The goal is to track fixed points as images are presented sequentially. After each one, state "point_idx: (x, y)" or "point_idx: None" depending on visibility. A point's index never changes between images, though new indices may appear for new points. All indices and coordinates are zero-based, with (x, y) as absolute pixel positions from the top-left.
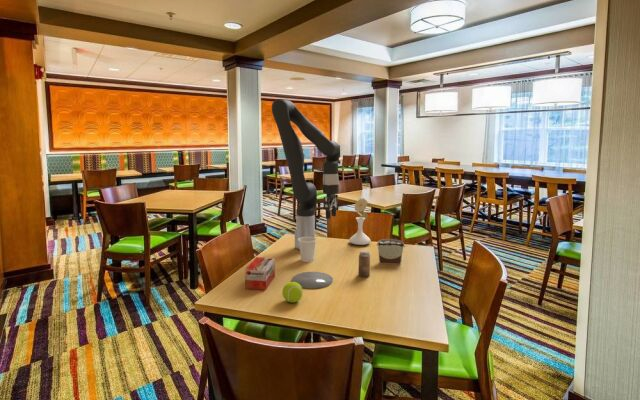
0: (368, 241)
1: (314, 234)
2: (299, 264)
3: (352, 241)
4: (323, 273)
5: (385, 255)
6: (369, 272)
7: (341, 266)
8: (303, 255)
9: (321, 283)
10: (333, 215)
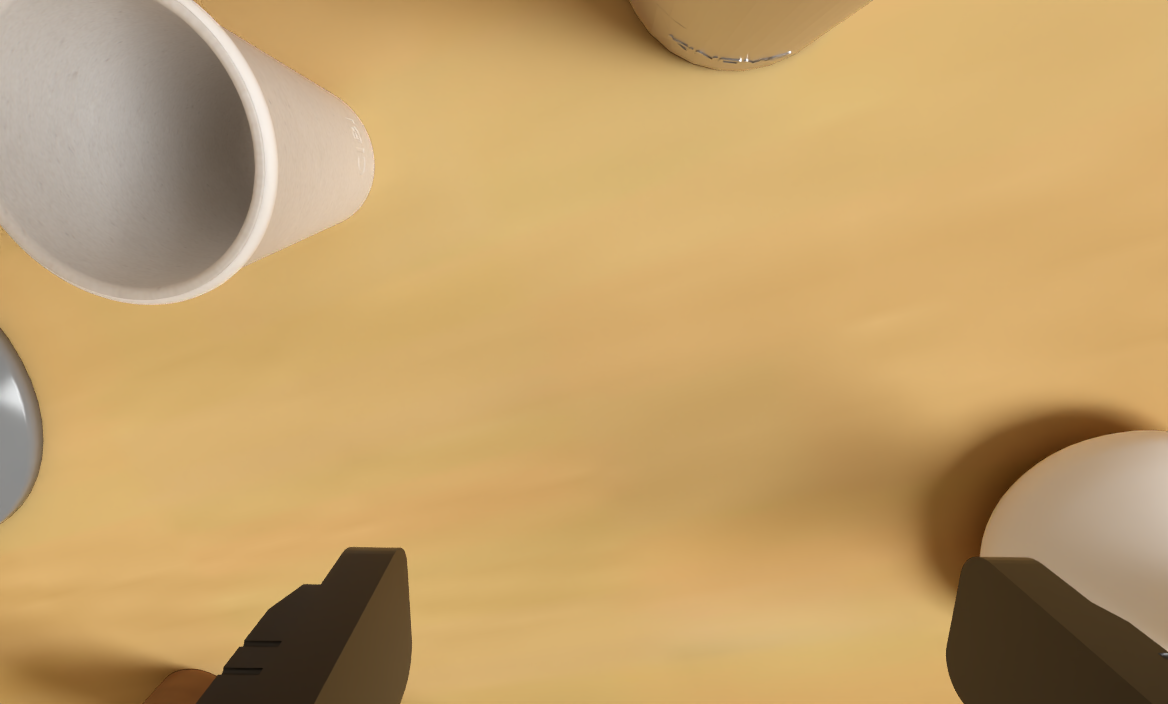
0: None
1: (815, 20)
2: None
3: (1024, 496)
4: (15, 449)
5: None
6: None
7: (300, 520)
8: (179, 136)
9: None
10: (965, 619)
